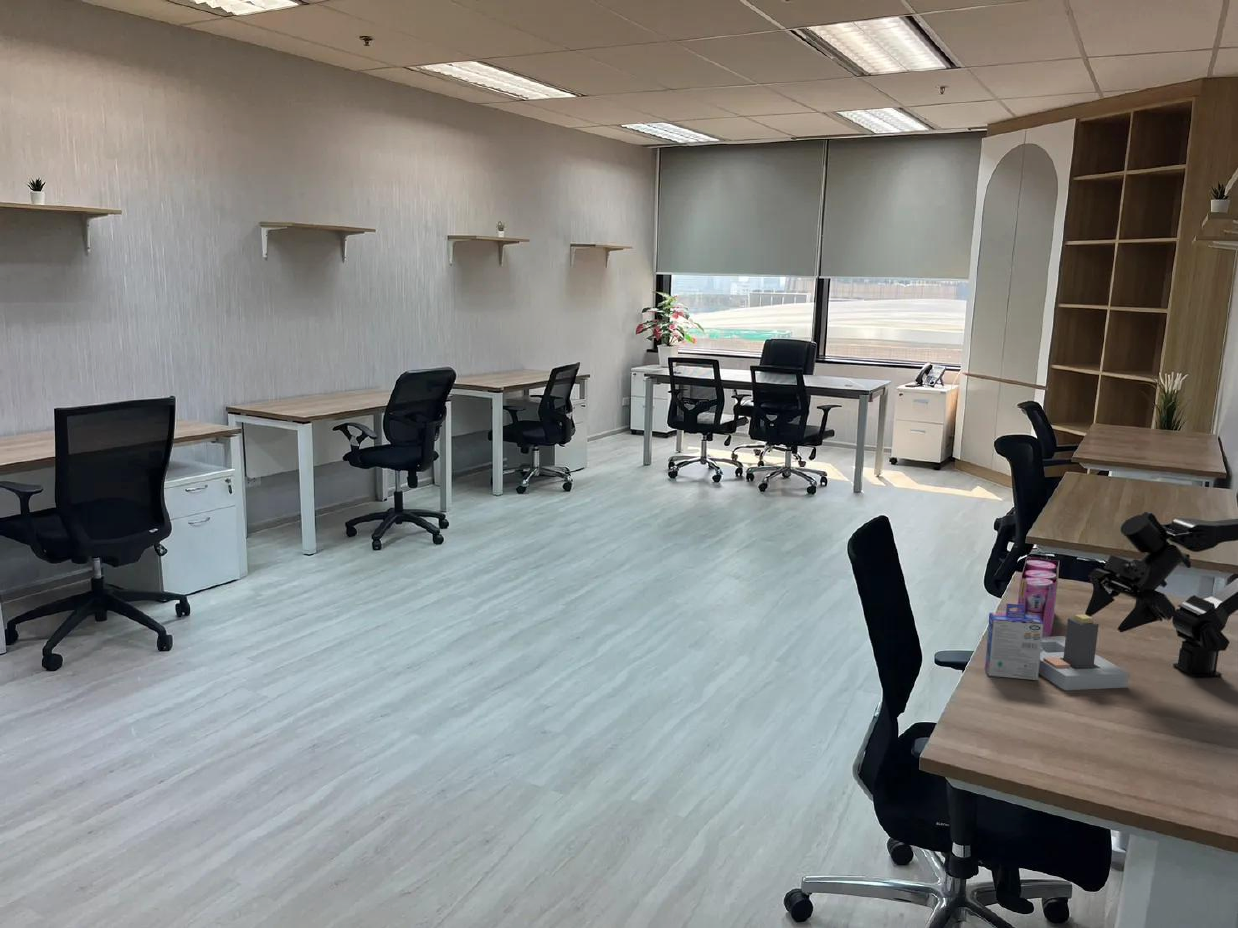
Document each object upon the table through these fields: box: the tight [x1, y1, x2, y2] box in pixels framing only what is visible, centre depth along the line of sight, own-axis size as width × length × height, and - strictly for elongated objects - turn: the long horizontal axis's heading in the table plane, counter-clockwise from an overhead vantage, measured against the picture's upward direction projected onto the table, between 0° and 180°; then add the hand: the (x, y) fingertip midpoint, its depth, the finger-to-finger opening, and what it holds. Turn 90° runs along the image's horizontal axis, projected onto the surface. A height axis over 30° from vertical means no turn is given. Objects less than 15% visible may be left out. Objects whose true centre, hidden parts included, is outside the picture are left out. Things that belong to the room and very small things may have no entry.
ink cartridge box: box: [984, 603, 1044, 681], centre depth 190 cm, size 10×6×14 cm, turn 79°
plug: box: [1063, 613, 1099, 669], centre depth 189 cm, size 4×4×13 cm
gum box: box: [1016, 556, 1060, 637], centre depth 221 cm, size 24×8×14 cm, turn 153°
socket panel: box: [1038, 635, 1130, 691], centre depth 194 cm, size 14×21×4 cm, turn 9°
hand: (1102, 623), depth 189 cm, fingers open, 9 cm apart
